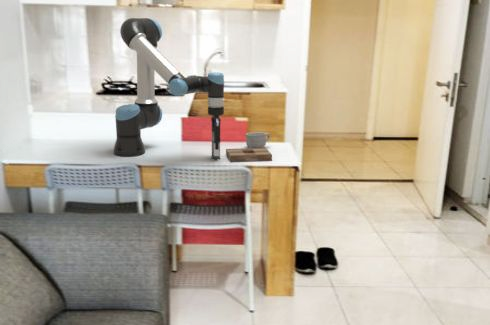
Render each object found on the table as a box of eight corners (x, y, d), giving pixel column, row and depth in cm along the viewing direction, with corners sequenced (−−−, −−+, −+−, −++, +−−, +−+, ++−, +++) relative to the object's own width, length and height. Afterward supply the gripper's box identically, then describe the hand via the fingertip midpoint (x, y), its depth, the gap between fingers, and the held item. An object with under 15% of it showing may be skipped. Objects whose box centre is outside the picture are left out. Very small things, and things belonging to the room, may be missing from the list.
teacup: (249, 151, 270) (249, 136, 268) (242, 146, 280) (242, 131, 278) (274, 149, 275) (275, 134, 272) (267, 145, 284) (267, 130, 282)
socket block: (225, 154, 262) (226, 148, 262) (265, 153, 266) (265, 147, 265) (230, 162, 249) (230, 155, 248) (271, 160, 253) (272, 154, 252)
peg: (211, 157, 256) (211, 131, 253) (219, 157, 257) (219, 131, 254) (212, 160, 252) (212, 133, 249) (220, 159, 253) (220, 133, 250)
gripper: (226, 109, 240) (226, 158, 246) (221, 103, 257) (220, 149, 263) (210, 109, 239) (210, 159, 245) (205, 103, 256) (205, 150, 262)
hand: (215, 154), depth 254 cm, fingers open, 5 cm apart
